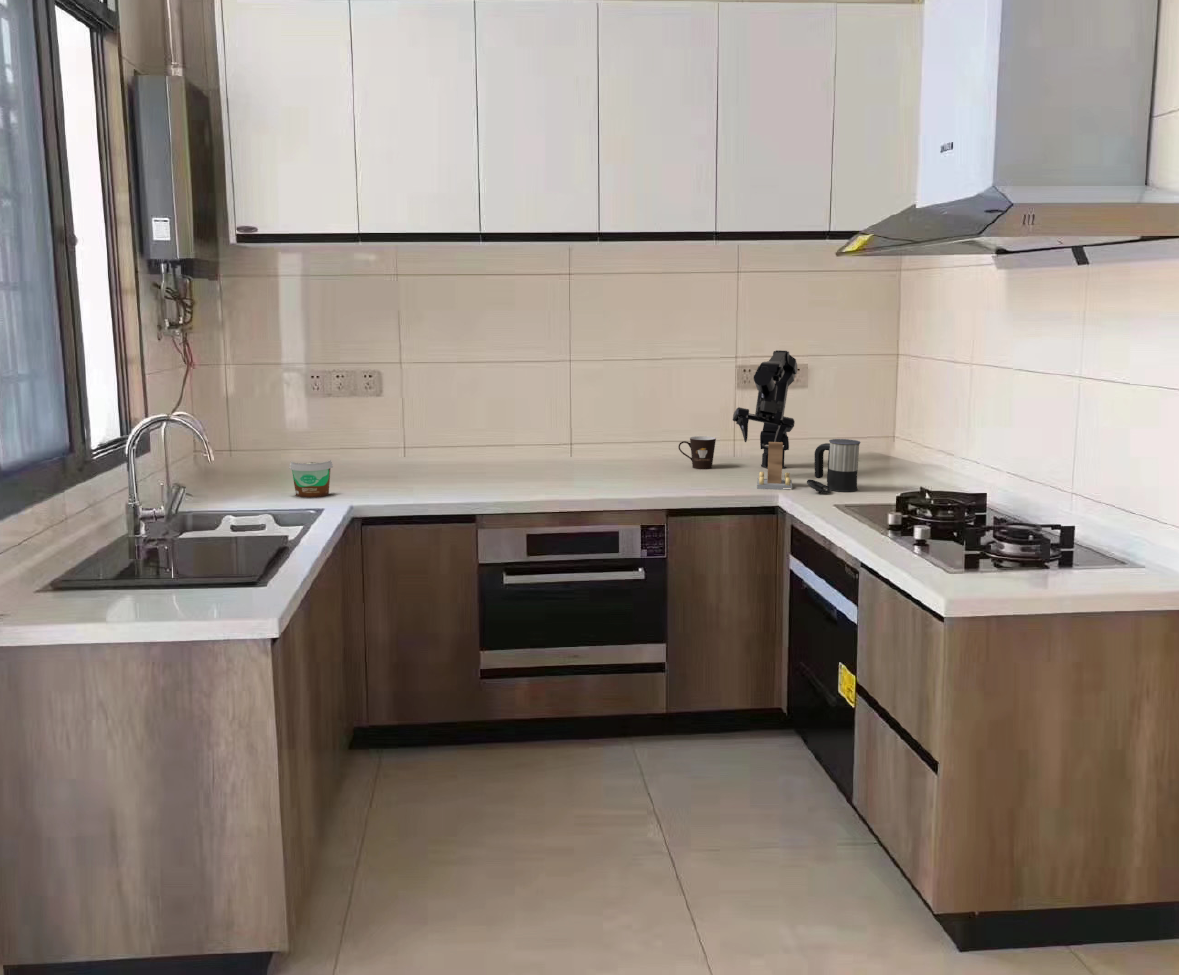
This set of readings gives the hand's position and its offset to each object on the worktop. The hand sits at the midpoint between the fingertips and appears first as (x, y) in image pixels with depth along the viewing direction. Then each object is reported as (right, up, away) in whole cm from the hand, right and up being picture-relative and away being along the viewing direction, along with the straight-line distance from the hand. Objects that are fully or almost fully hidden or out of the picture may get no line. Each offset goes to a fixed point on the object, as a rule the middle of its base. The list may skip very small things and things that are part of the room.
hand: (760, 444), depth 352 cm
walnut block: (+3, -12, -9) cm, 15 cm away
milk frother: (+19, -15, -15) cm, 29 cm away
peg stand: (+3, -13, -8) cm, 16 cm away
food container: (-133, -16, -27) cm, 137 cm away
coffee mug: (-17, -7, +24) cm, 30 cm away
